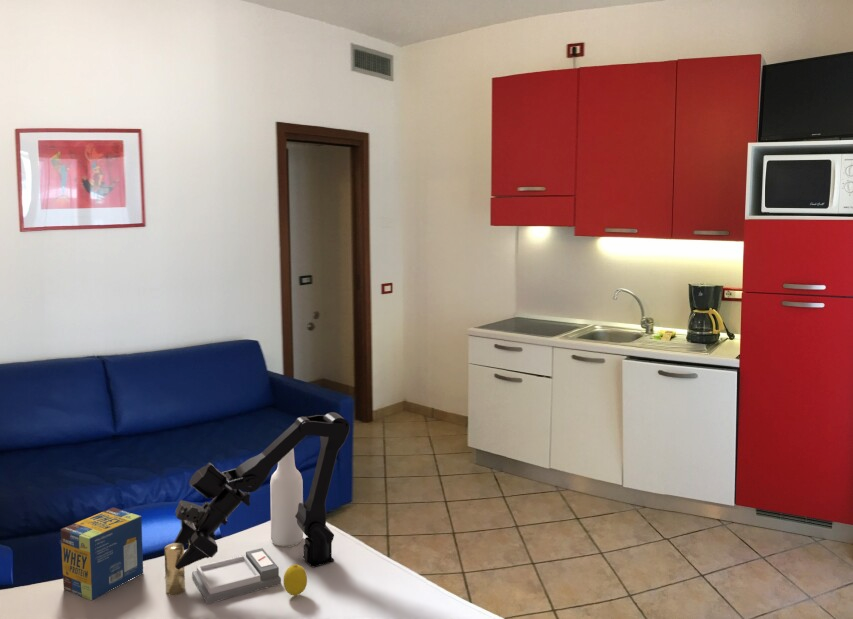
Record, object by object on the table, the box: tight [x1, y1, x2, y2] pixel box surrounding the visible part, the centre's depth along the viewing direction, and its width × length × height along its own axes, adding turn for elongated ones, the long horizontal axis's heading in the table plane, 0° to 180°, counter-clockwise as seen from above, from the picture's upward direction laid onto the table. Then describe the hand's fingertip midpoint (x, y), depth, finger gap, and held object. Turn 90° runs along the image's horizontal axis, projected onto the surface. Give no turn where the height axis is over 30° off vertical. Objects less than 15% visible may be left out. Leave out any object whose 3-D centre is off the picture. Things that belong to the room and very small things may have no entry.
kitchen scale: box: [191, 547, 282, 604], centre depth 179 cm, size 14×18×4 cm
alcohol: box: [269, 447, 304, 548], centre depth 200 cm, size 9×9×30 cm
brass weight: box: [164, 542, 186, 596], centre depth 173 cm, size 4×4×11 cm
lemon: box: [283, 563, 308, 597], centre depth 172 cm, size 6×6×8 cm
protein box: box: [60, 507, 144, 601], centre depth 177 cm, size 10×15×16 cm
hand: (173, 559), depth 173 cm, fingers open, 9 cm apart
